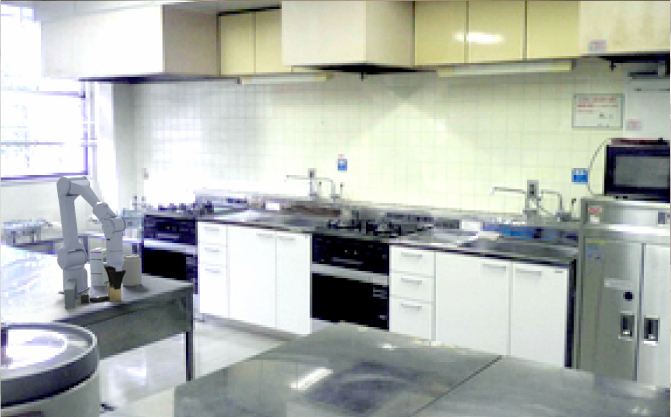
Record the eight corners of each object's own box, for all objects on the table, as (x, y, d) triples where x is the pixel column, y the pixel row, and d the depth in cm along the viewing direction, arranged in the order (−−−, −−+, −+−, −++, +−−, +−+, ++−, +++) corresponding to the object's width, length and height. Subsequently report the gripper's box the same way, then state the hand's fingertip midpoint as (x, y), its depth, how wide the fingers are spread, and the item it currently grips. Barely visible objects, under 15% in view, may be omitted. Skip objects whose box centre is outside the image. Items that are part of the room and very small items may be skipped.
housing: (64, 308, 229) (64, 289, 228) (68, 296, 245) (68, 278, 244) (74, 307, 230) (73, 289, 229) (77, 296, 246) (77, 278, 245)
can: (117, 285, 263) (117, 256, 262) (130, 282, 270) (129, 252, 268) (133, 287, 260) (132, 257, 259) (145, 283, 267) (145, 254, 266)
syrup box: (103, 286, 261) (103, 250, 259) (90, 285, 262) (89, 249, 261) (111, 283, 267) (110, 247, 265) (98, 282, 268) (97, 247, 266)
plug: (82, 304, 234) (81, 290, 234) (80, 301, 238) (80, 288, 237) (121, 300, 241) (121, 286, 241) (119, 297, 245) (118, 284, 244)
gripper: (98, 247, 244) (99, 283, 246) (107, 254, 232) (107, 292, 233) (118, 246, 248) (119, 281, 249) (127, 252, 235) (128, 290, 237)
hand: (115, 286), depth 242 cm, fingers open, 7 cm apart
